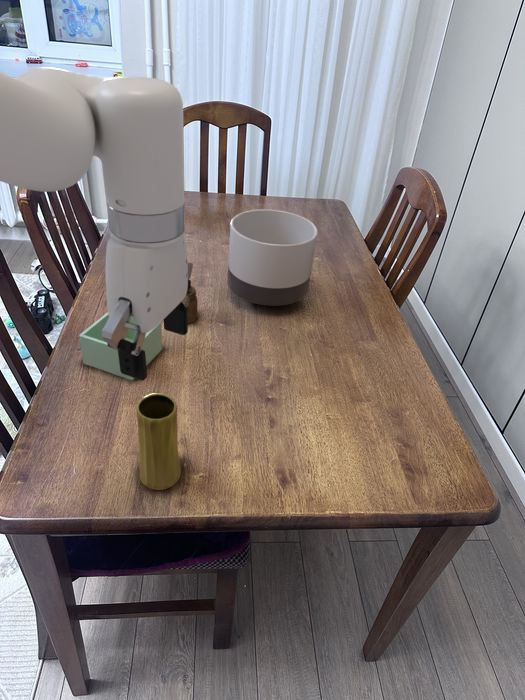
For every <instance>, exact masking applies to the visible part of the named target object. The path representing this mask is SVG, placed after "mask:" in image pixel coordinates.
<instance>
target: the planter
mask: <svg viewBox="0 0 525 700" xmlns="http://www.w3.org/2000/svg"><path fill="white" fill-rule="evenodd" d="M229 226H230V227H229V228H230V229H229V245H228V247H229V248H228V260H227V261H228V263H227V282H226V283H227V287H228V288H229V290H230V291H231V292H232V293H233V294H234V295H236V296H237V297H239V298H240V299H242V300H244V301H247V302H249V303H252V304H256V305H261V306H269V307H270V306H271V307H272V306H273V307H275V306H276V307H277V306H280V307H281V306H287V305H292V304H294V303H297V302H299V301H301V300H302V299H304V297H305V296H306V295H307V294H308V291H309V286H310V281H311V275H312V270H313V263H314V257H315V252H316V246H317V240H318V235H319V231H318V227H317V226H316V225H315V223H313V222H312V221H311V220H309V219H308V218H307V217H304V216H302V215H299V214H297V213H293V212H289V211H286V210H280V209H268V208H265V209H264V208H262V209H251V210H246V211H243V212H240V213H238V214H236V215H234V217H233V218H232V219H231V221H230V225H229Z"/></svg>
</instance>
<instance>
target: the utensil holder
mask: <svg viewBox="0 0 525 700" xmlns="http://www.w3.org/2000/svg"><path fill="white" fill-rule="evenodd" d="M192 277H194V278H192ZM191 278H192V282H191V287H190V288H189V291H188V294H187V296H188V297H189V303H188V305H187V306H184V307H186V308H187V315H188V324H190V323H194V322H195V321H196V319H197V317H198V297H197V291H196V286H197V280H198V279H197V278H198V277H197V276H195V275H194V274H192V273H191ZM191 278H189V280H191ZM194 279H195V281H194ZM194 282H195V285H194Z"/></svg>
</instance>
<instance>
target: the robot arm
mask: <svg viewBox="0 0 525 700" xmlns="http://www.w3.org/2000/svg"><path fill="white" fill-rule="evenodd" d="M183 104H184V102H183V97H182V95H181V93H180V91H179V89H178V88H177V87H176V86H175V85H174V84H173V83H170V82H168V81H166V80H163V79H160V78H154V77H146V76H114V77H103V76H96V75H90V74H85V73H81V72H75V71H71V70H67V69H61V68H56V67H45V66H44V67H34V68H30V69H28V70H25V71H23V72H22V73H20V74H19V75H18V76H17V77H13V76H11V75H9V74H7V73H5V72H3V71H0V182H2V183H4V184H8V185H10V186H14V187H17V188H21V189H25V190H30V191H35V192H42V193H43V192H44V193H45V192H48V193H50V192H51V193H52V192H58V191H64V190H66V189H68V188H70V187H72V186H74V185H75V184H77V183H78V182H80V181H81V180H82V179H83V178H84V176H85V175H86V174H87V173H88V171H89V169H90V166H91V165H92V161H93V157H97V158H98V159H100V161H101V169H102V176H103V186H104V194H105V201H106V210H107V211H106V212H107V219H108V228H109V235H110V237H109V238H108V239H107V243H106V248H105V249H106V250H105V252H106V253H105V275H104V276H105V294H106V295H105V296H106V307H107V312H108V316H109V320H108V321H107V323H106V325H105V326H104V328H103V330H102V332H101V336H102V338H103V339H104V340H105V341H106V343H107V344H108V347H111V348H113V349H116V350H118V356H119V364H120V371H121V373H122V374H124V375H127V376H130V377H133V378H135V379H137V380H139V381H145V380H146V379H147V378H148V369H147V367H148V366H146V355H145V351H144V350H141V349H142V345H143V342H144V339H145V336H146V333H147V332H149V331H150V330H152V329H154V328H155V327H156V326H157V325H158V324H159V323H160V322H161V323H162V322H163V329H164V330H165V331H167V332H171V333H174V334H178V335H181V336H186V334H187V333H189V332H188V331H189V328H188V327H189V326H188V324H189V323H188V315H187V308H186V307H184V306H187V305H188V303H189V297H188V296H187V294H188V291H189V288H190V287H191V286H192V281H191V279H190V278H192V275H191V274H192V273H193V268H194V263H193V262H189V261H188V252H187V244H186V206H185V205H186V198H185V197H186V196H185V195H186V194H185V149H184V148H185V140H184V139H185V138H184V137H185V135H184V133H185V132H184V105H183ZM131 316H132V317H134V319H135V321H136V323H137V325H136V324H132V323H129V321H130V318H131ZM139 325H140V326H139ZM128 328H129V329H133V330H136V331H137V332H136V336H135V339H134V342H133V343H132V342H129V341H127V340H125V338H126V335H127V332H128Z"/></svg>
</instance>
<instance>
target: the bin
mask: <svg viewBox="0 0 525 700" xmlns="http://www.w3.org/2000/svg"><path fill="white" fill-rule="evenodd" d="M108 320H109V316H108V311H107V312H106V313H104V314H103V315H102V316H101V317H100V318H98V319H97V320H96V321H95V322H93V323H92V324H91V325H90V326H88V327H87V328H86V329H85V330H83V331H82V332H81V333H80V334H79V335H78V339H79V346H80V351H81V357H82V363H83V365H85V366H88V367H92V368H95V369H97V370H101V371H104V372H106V373H109V374H112V375H115V376H118V377H121V378H124V379H127V380H130V381H134V380H135V379H136V378H133V377H130V376H127V375H124V374H122V373H121V371H120V364H119V356H118V350H116V349H113V348H111V347H108V344H107V343H106V341H105V340H104V339H103V338H102V336H101V332H102V330H103V328H104V326H105V325H106V323H107V321H108ZM129 323H132V324H136V325H137V323H136V321H135V319H134V317H132V316H131V318H130V321H129ZM139 326H140V325H139ZM162 329H163V328H162V321H161V322H160V323H159V324H158V325H157V326H156V327H155V328H154V329H152V330H150V331H149V332H147V333H146V336H145V339H144V342H143V345H142V349H141V350H144V351H145V355H146V367H148V365H149V364H150V363H151V362H152V360H154V359H155V358H156V357H157V356H158V355H159V353H160V352H161V351H163V334H162ZM136 332H137V331H136V330H133V329H129V328H128V332H127V335H126V338H125V340H127V341H129V342H132V343H133V342H134V339H135V336H136Z"/></svg>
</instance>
